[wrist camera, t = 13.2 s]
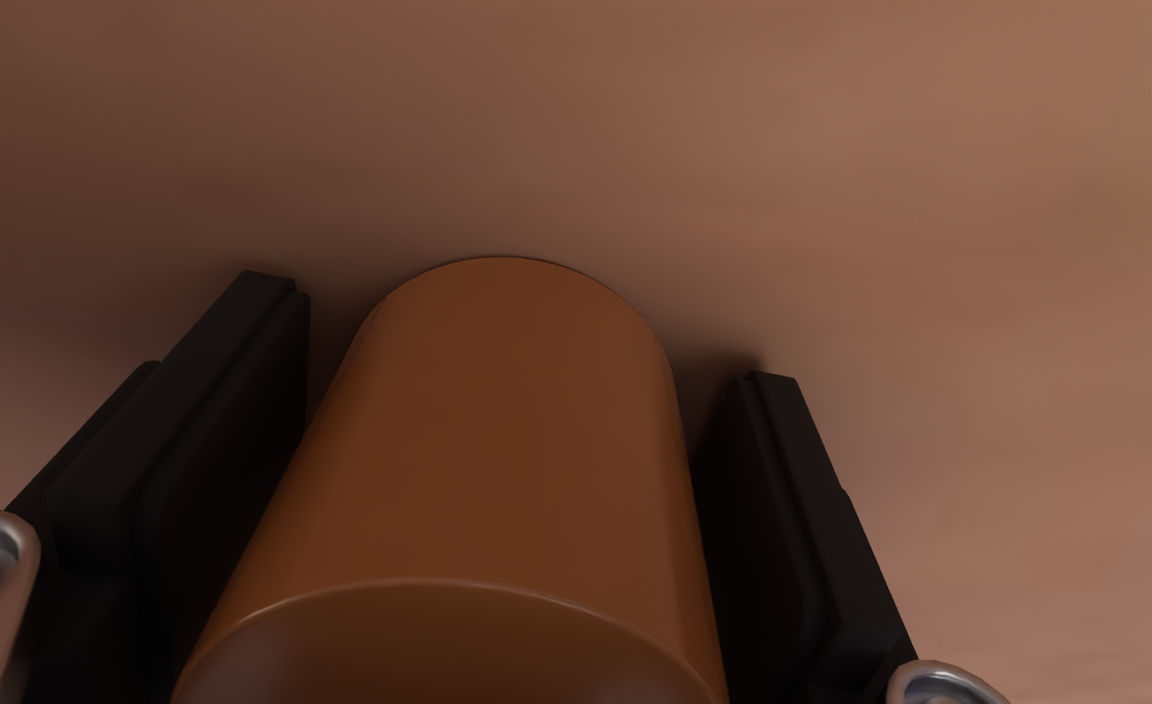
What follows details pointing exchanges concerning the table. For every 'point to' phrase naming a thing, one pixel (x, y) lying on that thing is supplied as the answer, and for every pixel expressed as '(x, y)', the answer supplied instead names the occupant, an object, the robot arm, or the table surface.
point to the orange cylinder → (478, 515)
